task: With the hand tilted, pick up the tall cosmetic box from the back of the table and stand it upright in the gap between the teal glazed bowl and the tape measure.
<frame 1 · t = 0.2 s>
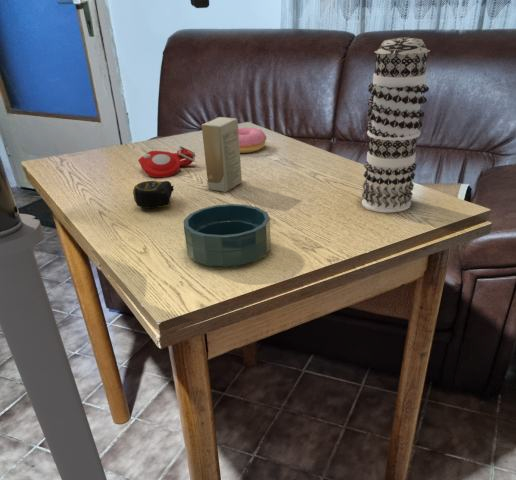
hand: (199, 6, 76), 30 cm above the table, tool pointing down, fingers open, 8 cm apart
cosmetic box: (225, 187, 102), on the table
doughnut: (244, 149, 124), on the table
tape measure: (158, 205, 95), on the table
bowl: (229, 251, 77), on the table
tracker holder: (169, 171, 112), on the table
white patterned cylinder: (385, 204, 90), on the table
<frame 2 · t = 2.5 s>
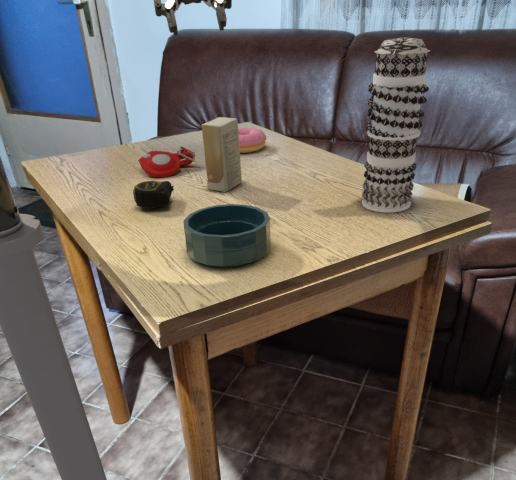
hand: (199, 30, 93), 26 cm above the table, tool tilted 40°, fingers open, 8 cm apart
nothing on the table moved.
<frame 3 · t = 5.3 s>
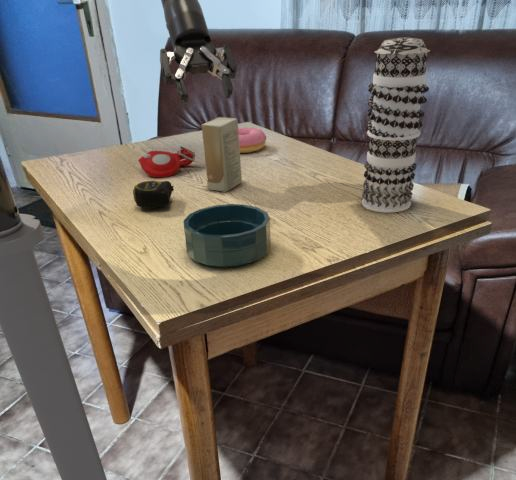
hand: (207, 97, 98), 15 cm above the table, tool tilted 45°, fingers open, 8 cm apart
nothing on the table moved.
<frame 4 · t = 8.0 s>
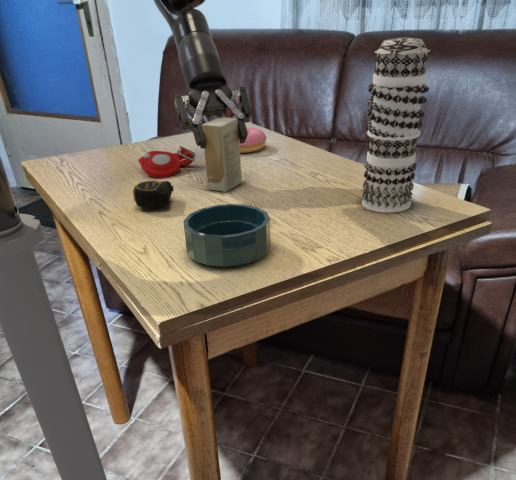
hand: (223, 143, 96), 9 cm above the table, tool tilted 45°, fingers closed on cosmetic box, 7 cm apart
cosmetic box: (225, 187, 102), on the table, touching gripper
everything else where it was.
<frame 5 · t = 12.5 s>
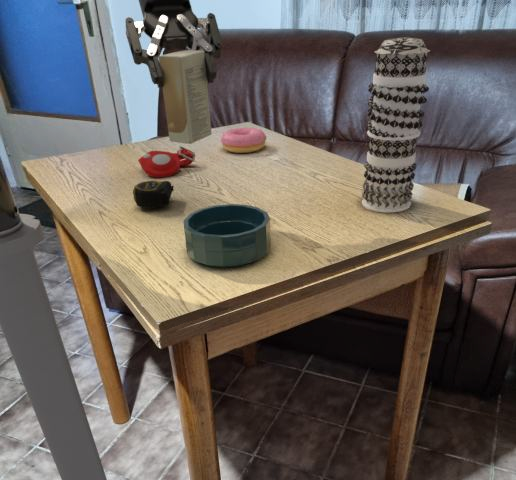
hand: (186, 81, 77), 21 cm above the table, tool tilted 45°, fingers closed on cosmetic box, 7 cm apart
cosmetic box: (190, 140, 83), point 12 cm above the table, touching gripper
everything else where it was.
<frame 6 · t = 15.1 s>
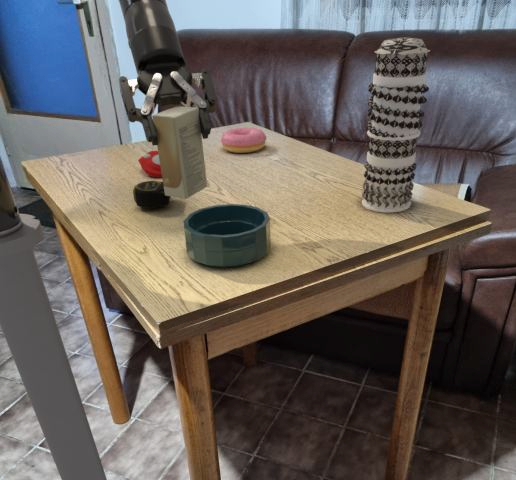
hand: (181, 138, 77), 14 cm above the table, tool tilted 45°, fingers closed on cosmetic box, 7 cm apart
cosmetic box: (186, 193, 83), point 5 cm above the table, touching gripper
everything else where it was.
when the fingers open (9 cm above the table, at t = 17.3 s): cosmetic box stays where it is, on the table.
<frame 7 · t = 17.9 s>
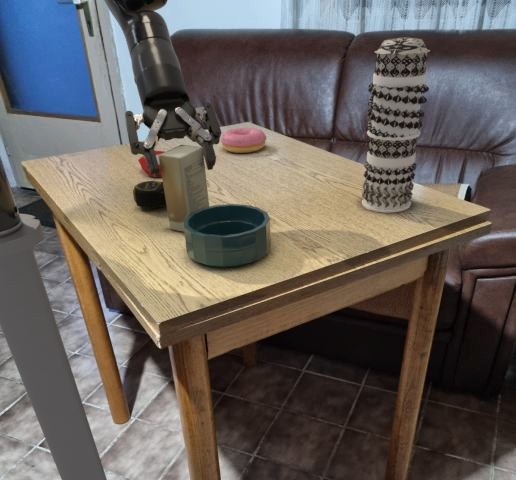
hand: (184, 170, 80), 9 cm above the table, tool tilted 45°, fingers open, 8 cm apart
cosmetic box: (190, 226, 86), on the table
everything else where it was.
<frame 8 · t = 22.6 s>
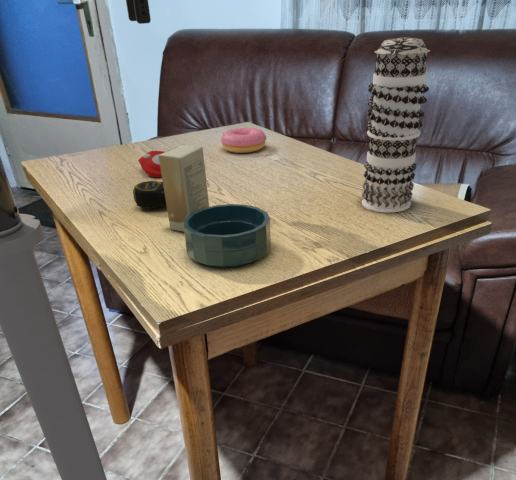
hand: (139, 22, 87), 28 cm above the table, tool pointing down, fingers open, 8 cm apart
nothing on the table moved.
at the end: cosmetic box 12.8 cm from the bowl (horizontally); cosmetic box 12.7 cm from the tape measure (horizontally); cosmetic box tilted 0° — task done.
